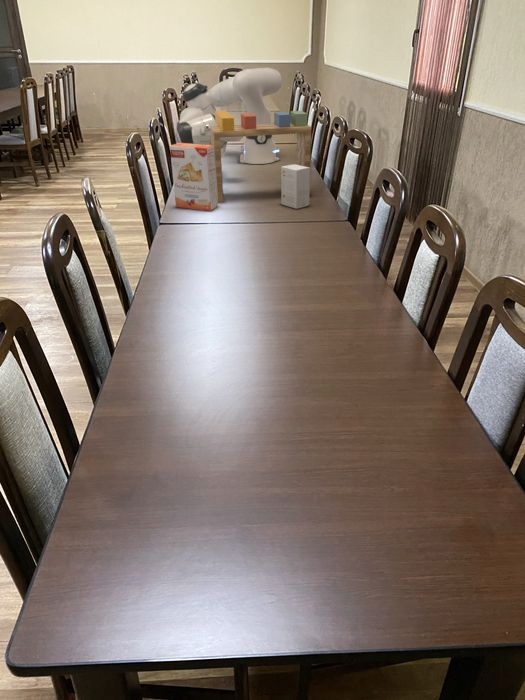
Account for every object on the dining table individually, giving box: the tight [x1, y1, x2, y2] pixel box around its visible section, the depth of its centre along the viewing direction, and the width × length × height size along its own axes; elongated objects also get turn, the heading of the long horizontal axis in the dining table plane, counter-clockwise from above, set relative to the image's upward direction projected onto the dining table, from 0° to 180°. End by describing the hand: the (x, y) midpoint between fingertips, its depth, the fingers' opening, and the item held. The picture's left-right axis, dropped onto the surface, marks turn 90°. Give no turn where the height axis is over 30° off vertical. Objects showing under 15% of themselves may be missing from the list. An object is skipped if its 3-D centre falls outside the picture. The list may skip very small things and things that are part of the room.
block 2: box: [273, 111, 291, 127], centre depth 189 cm, size 8×4×4 cm, turn 11°
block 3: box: [290, 110, 308, 127], centre depth 190 cm, size 8×4×4 cm, turn 11°
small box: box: [280, 163, 311, 209], centre depth 185 cm, size 8×6×13 cm
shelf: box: [210, 122, 312, 204], centre depth 195 cm, size 12×34×24 cm, turn 101°
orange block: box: [215, 110, 235, 131], centre depth 189 cm, size 20×4×4 cm, turn 11°
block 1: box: [240, 112, 256, 129], centre depth 187 cm, size 8×4×4 cm, turn 11°
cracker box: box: [169, 142, 219, 212], centre depth 183 cm, size 14×6×21 cm, turn 68°
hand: (219, 126), depth 202 cm, fingers open, 8 cm apart
